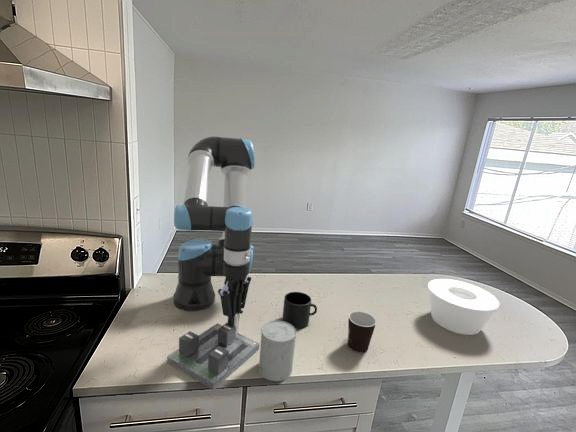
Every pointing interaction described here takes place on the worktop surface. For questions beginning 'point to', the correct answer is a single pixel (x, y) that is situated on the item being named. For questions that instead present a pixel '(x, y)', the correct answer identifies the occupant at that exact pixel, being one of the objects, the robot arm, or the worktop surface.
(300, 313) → the mug
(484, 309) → the bowl
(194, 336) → the block
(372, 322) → the dark brown tapered cylinder
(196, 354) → the panel
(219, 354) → the breaker
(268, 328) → the grey stone cylinder
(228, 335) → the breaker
